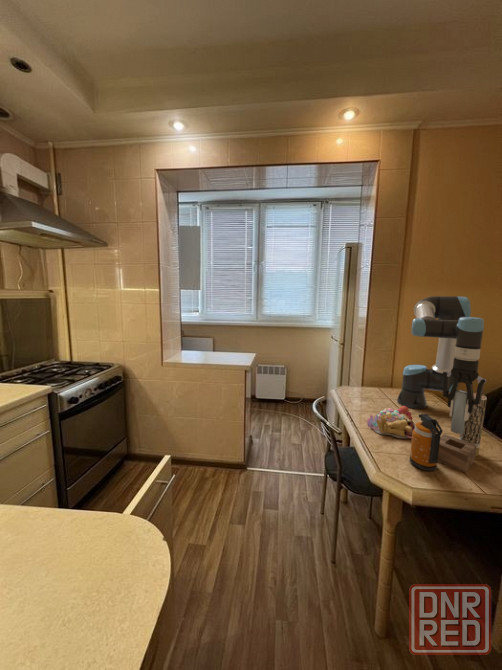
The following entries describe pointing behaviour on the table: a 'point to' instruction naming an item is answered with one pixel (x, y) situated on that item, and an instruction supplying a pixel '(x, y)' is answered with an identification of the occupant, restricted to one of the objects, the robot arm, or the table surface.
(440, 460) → the hollow walnut box
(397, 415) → the candy landscape model
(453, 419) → the dowel
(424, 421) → the canister
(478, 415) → the bark covered log
